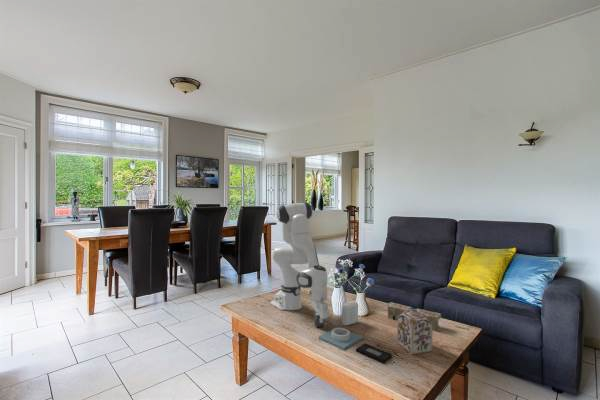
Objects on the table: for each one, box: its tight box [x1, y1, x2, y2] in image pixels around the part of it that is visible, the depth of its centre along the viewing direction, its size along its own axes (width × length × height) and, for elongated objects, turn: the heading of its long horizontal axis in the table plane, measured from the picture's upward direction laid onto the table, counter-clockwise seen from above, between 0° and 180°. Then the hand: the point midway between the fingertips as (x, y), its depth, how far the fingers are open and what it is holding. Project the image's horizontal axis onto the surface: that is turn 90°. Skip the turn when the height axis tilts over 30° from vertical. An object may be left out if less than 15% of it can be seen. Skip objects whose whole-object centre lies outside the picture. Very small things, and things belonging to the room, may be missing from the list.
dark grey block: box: [314, 312, 325, 328], centre depth 166 cm, size 5×5×6 cm
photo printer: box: [341, 300, 359, 326], centre depth 171 cm, size 10×4×12 cm, turn 123°
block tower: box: [387, 301, 442, 331], centre depth 173 cm, size 8×8×29 cm
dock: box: [318, 326, 364, 351], centre depth 152 cm, size 16×16×4 cm
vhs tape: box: [355, 342, 393, 365], centre depth 137 cm, size 8×14×2 cm, turn 44°
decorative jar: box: [396, 308, 433, 355], centre depth 144 cm, size 12×12×18 cm
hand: (319, 320), depth 166 cm, fingers closed on dark grey block, 5 cm apart
